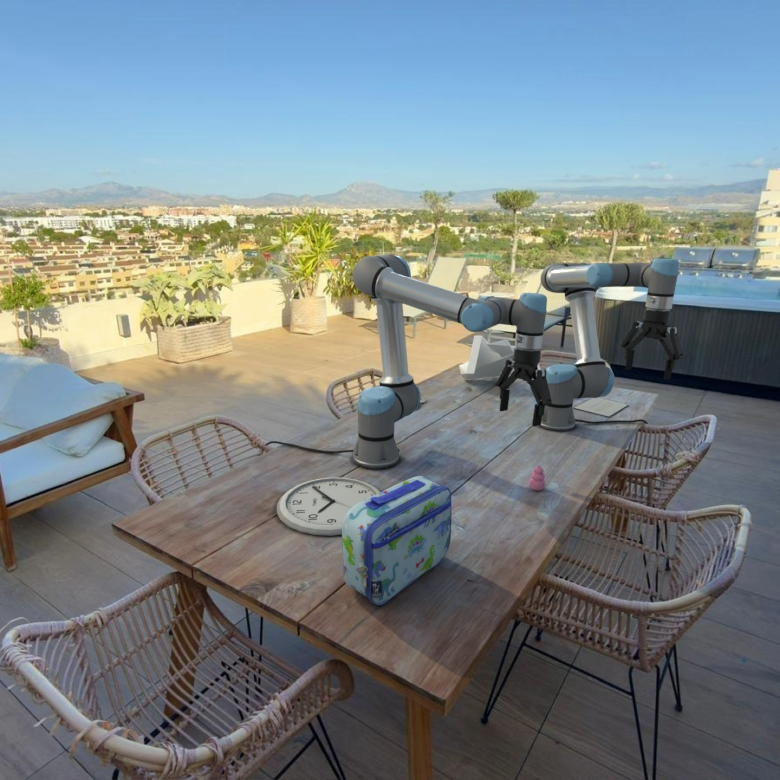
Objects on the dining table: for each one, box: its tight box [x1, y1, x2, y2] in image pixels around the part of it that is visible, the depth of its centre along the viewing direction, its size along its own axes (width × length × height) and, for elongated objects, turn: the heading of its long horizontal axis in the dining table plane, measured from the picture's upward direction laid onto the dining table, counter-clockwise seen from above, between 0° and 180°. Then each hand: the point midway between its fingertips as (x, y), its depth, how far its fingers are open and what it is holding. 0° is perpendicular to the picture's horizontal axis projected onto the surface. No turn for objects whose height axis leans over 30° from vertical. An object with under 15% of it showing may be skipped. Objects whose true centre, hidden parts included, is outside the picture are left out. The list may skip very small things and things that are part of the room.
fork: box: [418, 394, 428, 408], centre depth 224 cm, size 3×16×2 cm, turn 160°
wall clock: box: [276, 476, 382, 537], centre depth 142 cm, size 30×2×30 cm
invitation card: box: [573, 397, 629, 418], centre depth 226 cm, size 21×1×15 cm
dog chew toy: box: [528, 465, 546, 492], centre depth 153 cm, size 4×4×7 cm
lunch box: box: [341, 475, 453, 606], centre depth 111 cm, size 26×11×21 cm, turn 134°
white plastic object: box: [458, 326, 542, 389], centre depth 254 cm, size 37×45×31 cm
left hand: (519, 417), depth 156 cm, fingers open, 13 cm apart
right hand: (646, 374), depth 171 cm, fingers open, 13 cm apart
